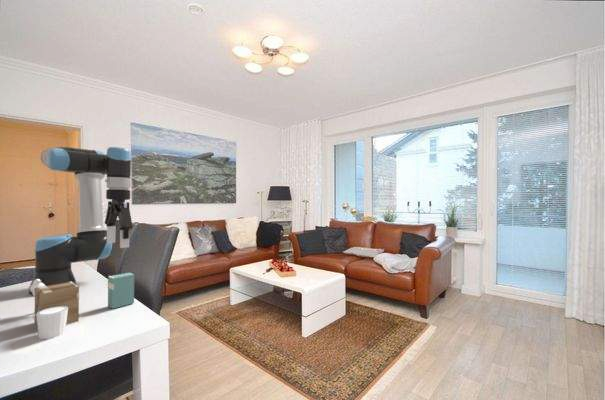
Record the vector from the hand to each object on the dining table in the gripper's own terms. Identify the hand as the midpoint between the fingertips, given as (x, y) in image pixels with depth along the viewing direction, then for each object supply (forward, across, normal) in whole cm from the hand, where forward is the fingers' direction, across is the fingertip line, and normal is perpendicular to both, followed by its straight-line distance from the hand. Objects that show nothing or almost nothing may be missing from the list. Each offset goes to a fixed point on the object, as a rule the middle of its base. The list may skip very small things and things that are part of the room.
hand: (117, 245), depth 103 cm
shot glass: (+22, +13, -20) cm, 33 cm away
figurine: (+22, -9, -20) cm, 31 cm away
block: (+22, +4, 0) cm, 22 cm away
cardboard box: (+22, +4, -18) cm, 28 cm away
